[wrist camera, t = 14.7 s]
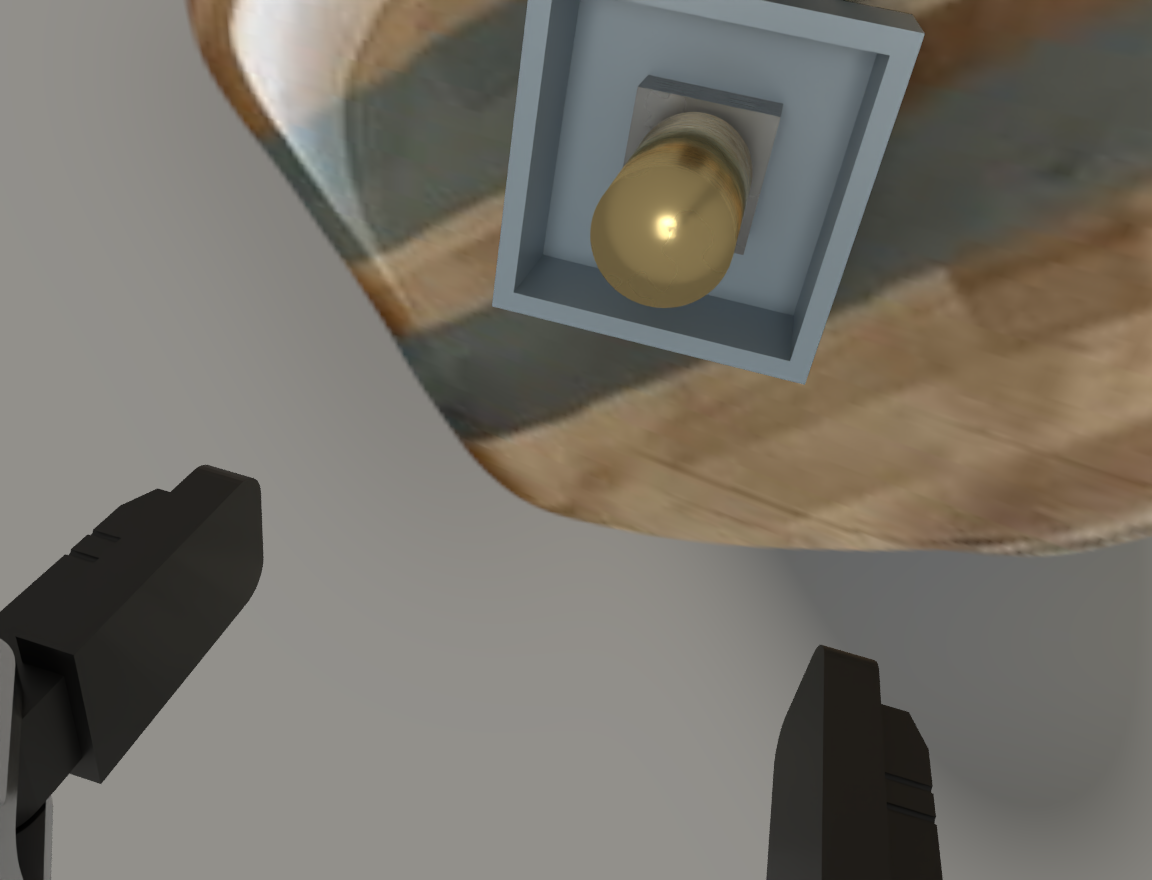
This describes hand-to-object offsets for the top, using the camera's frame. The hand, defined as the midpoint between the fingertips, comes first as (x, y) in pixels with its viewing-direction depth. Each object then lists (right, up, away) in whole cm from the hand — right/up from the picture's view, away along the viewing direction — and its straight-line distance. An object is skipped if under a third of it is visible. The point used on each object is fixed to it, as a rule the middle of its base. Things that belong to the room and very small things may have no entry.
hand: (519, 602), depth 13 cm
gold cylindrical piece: (+6, +13, +23) cm, 27 cm away
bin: (+6, +14, +24) cm, 28 cm away
